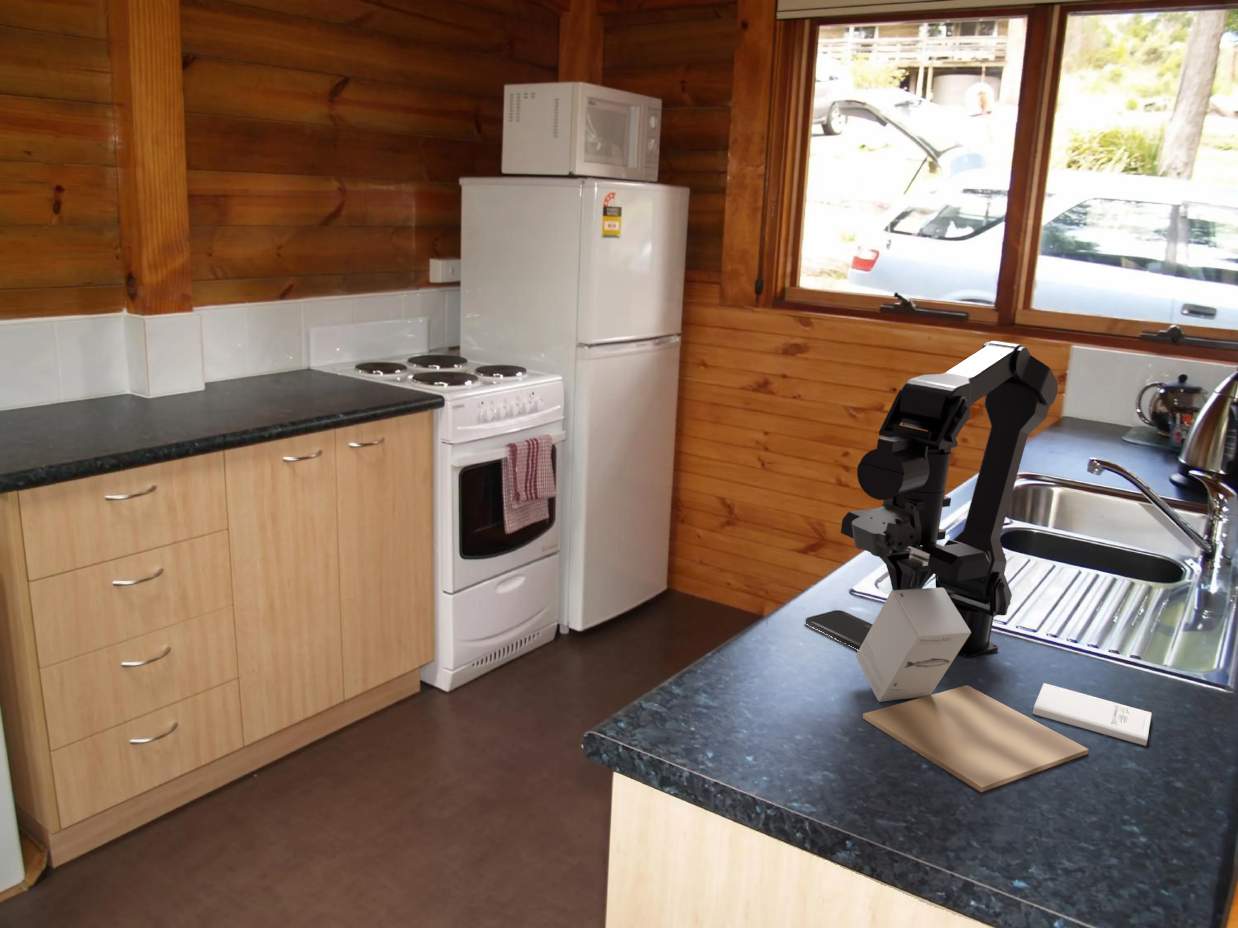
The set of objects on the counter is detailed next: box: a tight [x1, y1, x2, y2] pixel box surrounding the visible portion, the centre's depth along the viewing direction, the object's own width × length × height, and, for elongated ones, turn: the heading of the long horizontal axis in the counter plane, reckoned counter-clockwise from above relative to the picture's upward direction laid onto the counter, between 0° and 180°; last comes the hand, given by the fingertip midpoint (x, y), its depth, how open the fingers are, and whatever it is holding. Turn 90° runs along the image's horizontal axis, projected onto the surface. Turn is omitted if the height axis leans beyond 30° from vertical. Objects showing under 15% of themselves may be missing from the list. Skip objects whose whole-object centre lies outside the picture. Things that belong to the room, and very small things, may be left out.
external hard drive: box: [1032, 682, 1153, 747], centre depth 123 cm, size 2×8×12 cm
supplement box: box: [855, 587, 971, 703], centre depth 122 cm, size 7×7×13 cm
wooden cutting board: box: [862, 685, 1089, 793], centre depth 116 cm, size 18×17×1 cm
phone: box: [805, 609, 873, 650], centre depth 142 cm, size 8×1×15 cm
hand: (901, 609), depth 124 cm, fingers closed
